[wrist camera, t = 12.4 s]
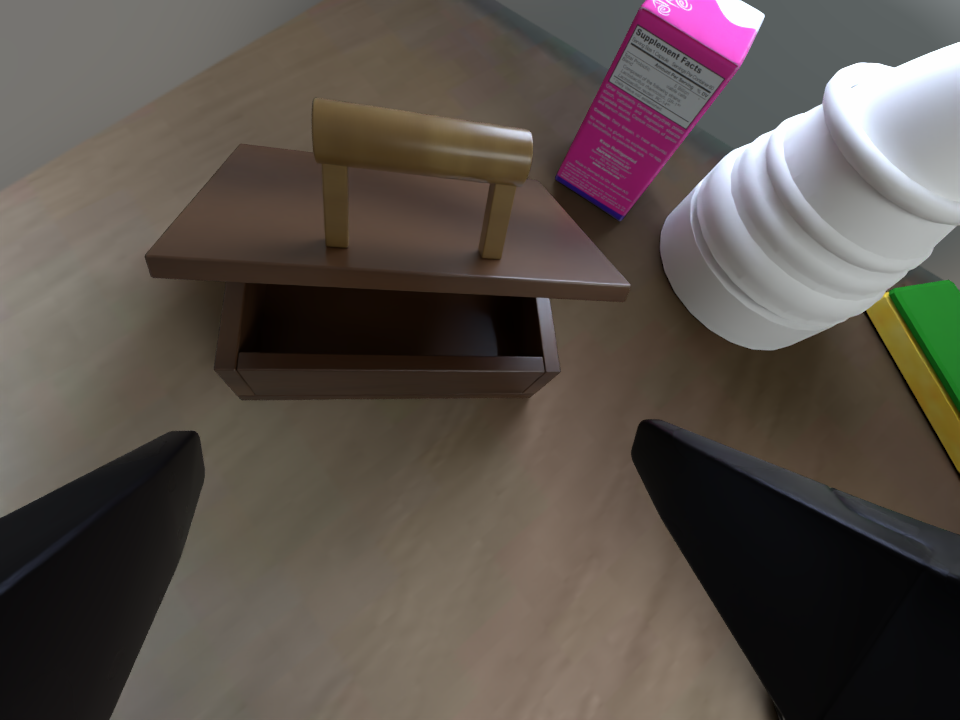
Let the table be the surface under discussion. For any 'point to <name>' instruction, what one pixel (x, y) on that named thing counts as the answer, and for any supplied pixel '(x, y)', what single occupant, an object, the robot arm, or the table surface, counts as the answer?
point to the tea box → (382, 344)
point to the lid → (387, 214)
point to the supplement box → (655, 95)
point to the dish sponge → (927, 350)
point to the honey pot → (823, 206)
